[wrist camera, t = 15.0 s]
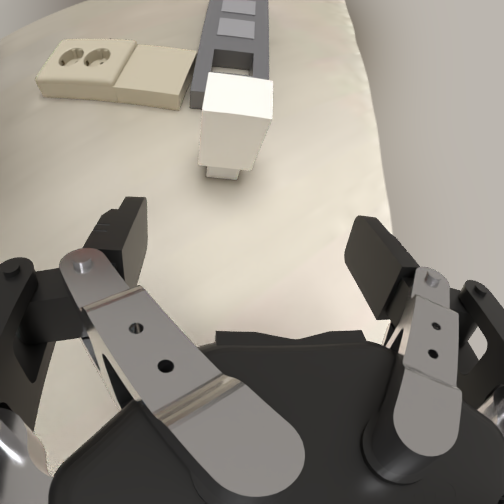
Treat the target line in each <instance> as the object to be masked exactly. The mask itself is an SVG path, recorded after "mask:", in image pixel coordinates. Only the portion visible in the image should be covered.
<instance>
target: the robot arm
mask: <svg viewBox="0 0 504 504" xmlns="http://www.w3.org/2000/svg"><path fill="white" fill-rule="evenodd" d="M147 240H148V234H147V200H146V197H125V199H124V200H123V202H122V204H121V206H120V207H119V209H111V210H109V211H108V212H106V213H105V214H103V215H102V216H101V218H100V219H99V221H98V222H97V225H96V226H95V227H94V229H93V231H92V232H91V234H90V236H89V237H88V239H87V241H86V242H85V244H84V246H83V248H82V249H77V250H74V251H72V252H70V253H68V254H67V255H65V256H64V257H63V258H62V259H61V261H60V264H59V268H56V269H51V270H44V271H37V272H35V269H34V265H33V263H32V261H30V260H29V259H27V258H22V257H19V258H13V259H9V260H7V261H5V262H3V263H1V264H0V504H504V309H503V307H502V306H501V305H500V304H499V302H498V301H497V300H496V298H495V297H494V296H493V295H492V293H491V292H490V291H489V290H488V289H487V288H486V287H485V286H484V285H482V284H481V283H479V282H476V281H473V280H467V281H466V282H465V284H464V286H463V288H462V290H461V291H460V290H456V289H453V288H450V286H449V282H448V281H447V279H446V278H445V277H444V276H443V275H442V274H440V273H439V272H437V271H436V270H434V269H431V268H428V267H420V266H419V265H418V264H417V263H416V261H415V260H414V259H413V257H412V256H411V255H410V254H409V253H408V252H406V251H407V250H406V249H405V248H404V247H403V246H401V243H400V242H399V241H398V240H397V239H396V237H394V236H393V235H392V234H390V233H389V232H388V230H387V229H386V228H385V227H384V226H383V225H382V224H381V222H380V221H379V220H378V219H377V218H375V217H368V216H357V217H356V219H355V221H354V224H353V227H352V230H351V233H350V236H349V239H348V242H347V245H346V249H345V254H344V258H345V263H346V265H347V267H348V269H349V271H350V272H351V274H352V276H353V278H354V279H355V281H356V283H357V285H358V287H359V288H360V290H361V292H362V294H363V296H364V297H365V299H366V301H367V303H368V305H369V307H370V309H371V310H372V312H373V314H374V316H375V318H376V320H387V319H390V320H391V321H390V323H389V325H388V327H387V329H386V332H385V335H384V338H383V341H382V344H381V345H380V344H377V343H374V342H370V341H366V339H365V337H364V335H363V332H362V330H355V331H330V332H326V333H322V334H318V335H314V336H310V337H306V338H302V339H289V338H283V337H278V336H273V335H268V334H263V333H258V332H230V331H216V335H215V343H211V344H207V345H203V346H200V347H196V346H195V345H194V344H193V343H192V342H191V341H190V340H189V338H188V337H187V336H186V335H185V334H184V333H183V332H182V331H181V330H180V329H179V328H178V327H177V325H176V324H175V323H174V322H173V321H172V320H171V319H170V318H169V317H168V315H167V314H166V313H165V312H164V311H163V310H162V309H161V308H160V306H159V305H158V304H157V303H156V302H155V301H154V300H153V298H152V297H151V296H150V295H149V294H148V293H147V291H146V290H145V289H144V288H143V287H142V286H140V285H138V286H137V283H138V279H139V275H140V272H141V268H142V265H143V261H144V258H145V254H146V250H147ZM477 326H478V327H479V328H480V330H481V331H482V333H483V334H484V336H485V337H486V339H487V343H488V345H487V350H486V352H485V354H484V355H483V356H482V358H481V359H480V360H478V358H477V356H476V355H475V353H474V351H473V350H472V348H471V346H470V345H469V343H468V340H469V338H470V337H471V335H472V334H473V332H474V331H475V330H476V328H477ZM74 338H80V341H81V343H82V344H83V346H84V348H85V350H86V352H87V354H88V356H89V357H90V359H91V361H92V363H93V365H94V366H95V368H96V370H97V372H98V373H99V375H100V377H101V378H102V380H103V382H104V384H105V386H106V388H107V390H108V392H109V394H110V396H111V398H112V400H113V401H114V403H115V405H116V407H117V408H118V410H119V411H120V412H118V413H117V414H116V415H115V416H114V417H113V418H112V419H111V420H110V421H109V422H108V423H106V424H105V425H104V426H103V427H102V428H101V429H100V430H99V431H98V432H97V433H95V434H94V435H93V436H92V437H91V438H90V439H89V440H88V441H87V442H85V443H84V444H83V445H82V446H81V447H80V448H79V449H78V450H77V451H75V452H74V453H73V454H72V455H71V456H70V457H69V458H68V459H66V460H65V461H64V462H63V463H62V464H61V466H60V467H59V468H58V470H57V471H56V473H55V475H54V477H51V476H50V474H49V472H48V469H47V464H46V452H45V448H44V446H43V444H42V442H41V441H40V439H39V438H38V437H37V436H36V435H35V434H34V433H33V432H34V427H35V421H36V417H37V412H38V407H39V403H40V398H41V394H42V390H43V386H44V382H45V378H46V374H47V371H48V367H49V363H50V360H51V356H52V353H53V350H54V346H55V343H56V341H61V340H67V339H74Z"/></svg>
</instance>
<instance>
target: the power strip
mask: <svg viewBox="0 0 504 504" xmlns="http://www.w3.org/2000/svg"><path fill="white" fill-rule="evenodd" d="M212 66H217V67H227V68H236V69H245V70H249V76H248V75H239V74H231V73H222V74H230V75H238V76H245V77H252V78H259V79H265V80H269V19H268V0H210V1H209V5H208V9H207V14H206V18H205V22H204V26H203V31H202V35H201V40H200V45H199V49H198V54H197V59H196V64H195V69H194V74H193V80H192V85H191V91H190V108H197V109H202V107H203V101H204V95H205V90H206V84H207V79H208V73H209V72H211V69H212ZM212 73H221V72H212Z"/></svg>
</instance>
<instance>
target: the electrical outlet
mask: <svg viewBox="0 0 504 504" xmlns="http://www.w3.org/2000/svg"><path fill="white" fill-rule="evenodd" d="M196 59H197V51H193V50H186V49H179V48H171V47H162V46H152V45H140V44H139V45H138V44H137V42H136V41H135V40H122V39H64V40H62V41H61V42H60V43H59V44H58V46H57V47H56V49H55V50H54V51H53V53H52V54H51V56H50V57H49V58H48V60H47V61H46V63H45V64H44V66H43V67H42V69H41V70H40V72H39V73H38V75H37V76H36V78H35V81H36V83H37V85H38V87H39V89H40V91H41V92H42V94H43V96H44V97H51V98H72V99H87V100H99V101H109V102H119V103H128V104H136V105H144V106H151V107H158V108H164V109H171V110H177V111H179V109H180V107H181V104H182V101H183V99H184V96H185V93H186V91H187V88H188V86H189V83H190V81H191V78H192V76H193V73H194V69H195V64H196Z"/></svg>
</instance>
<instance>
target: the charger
mask: <svg viewBox="0 0 504 504" xmlns="http://www.w3.org/2000/svg"><path fill="white" fill-rule="evenodd" d="M272 113H273V81H271V80H265V79H259V78H252V77H245V76H238V75H230V74H222V73H212V72H209V73H208V79H207V84H206V90H205V95H204V101H203V107H202V115H201V128H200V142H199V157H198V165H201V166H207V172H206V177H213V178H223V179H233V180H237V178H238V175H239V172H240V170H248V171H251V169H252V167H253V164H254V162H255V160H256V157H257V155H258V152H259V150H260V147H261V145H262V143H263V140H264V138H265V136H266V133H267V131H268V128H269V126H270V124H271V121H272Z"/></svg>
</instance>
